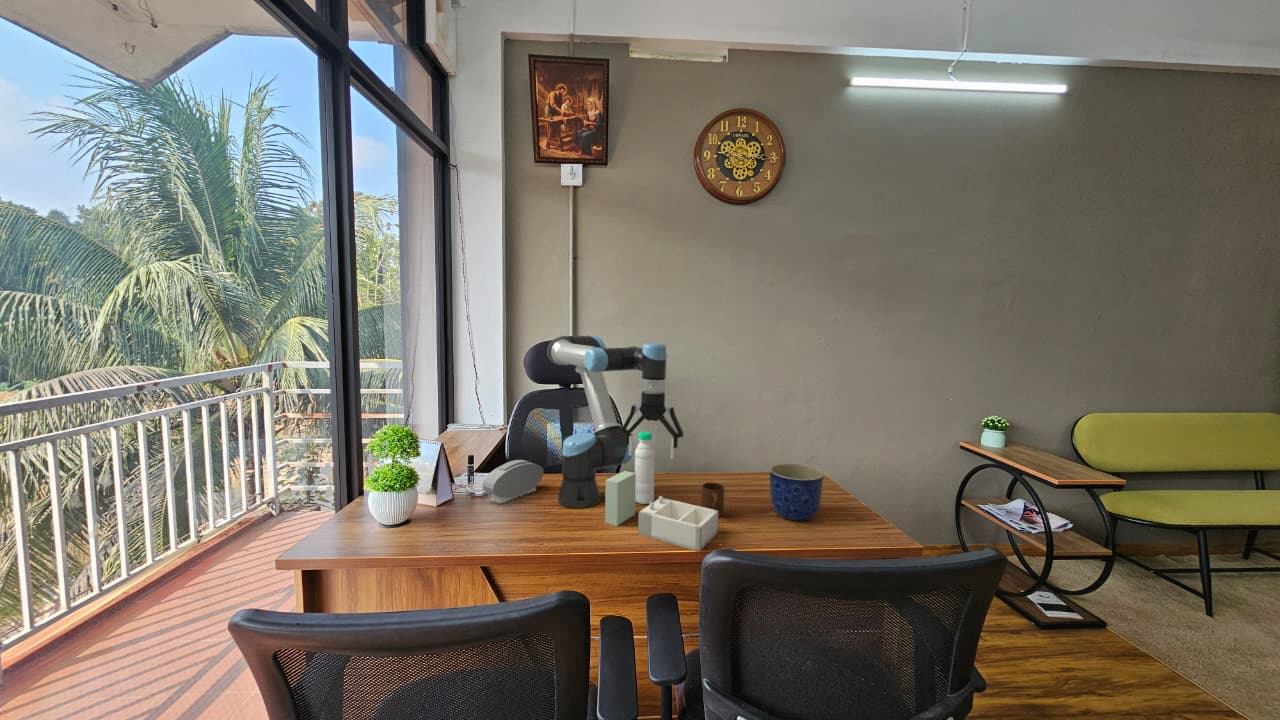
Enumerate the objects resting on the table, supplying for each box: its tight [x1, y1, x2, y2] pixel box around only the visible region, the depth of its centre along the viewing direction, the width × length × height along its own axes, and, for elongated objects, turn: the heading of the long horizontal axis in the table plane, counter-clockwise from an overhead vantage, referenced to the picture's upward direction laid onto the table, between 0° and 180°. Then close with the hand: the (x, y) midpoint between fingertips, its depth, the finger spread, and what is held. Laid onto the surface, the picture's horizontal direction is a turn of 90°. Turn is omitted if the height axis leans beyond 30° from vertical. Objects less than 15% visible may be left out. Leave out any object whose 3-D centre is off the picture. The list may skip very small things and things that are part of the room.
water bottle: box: [634, 431, 656, 505], centre depth 168 cm, size 7×7×25 cm
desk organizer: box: [637, 495, 719, 552], centre depth 143 cm, size 20×14×9 cm
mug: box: [700, 482, 725, 518], centre depth 157 cm, size 12×8×9 cm, turn 0°
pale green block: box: [604, 470, 636, 527], centre depth 154 cm, size 4×11×14 cm, turn 149°
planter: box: [769, 463, 825, 522], centre depth 157 cm, size 17×17×15 cm
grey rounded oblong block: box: [482, 459, 545, 503], centre depth 173 cm, size 23×6×13 cm, turn 144°
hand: (651, 456), depth 154 cm, fingers open, 13 cm apart
